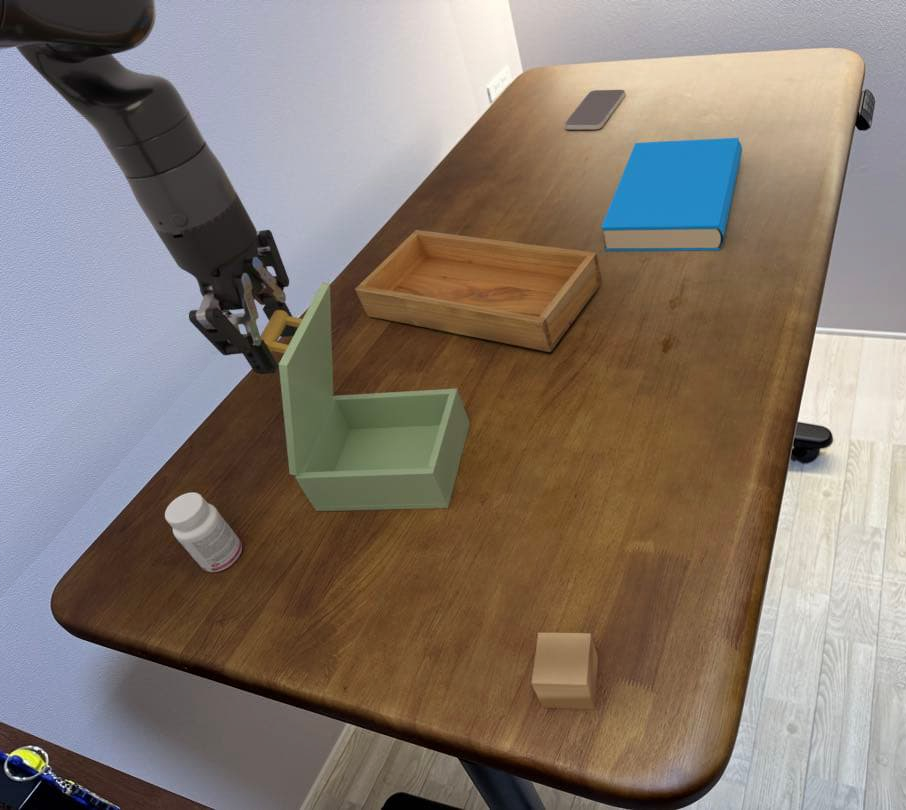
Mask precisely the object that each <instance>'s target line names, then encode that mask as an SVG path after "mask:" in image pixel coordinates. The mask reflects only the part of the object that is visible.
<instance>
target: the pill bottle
mask: <svg viewBox="0 0 906 810" xmlns="http://www.w3.org/2000/svg"><path fill="white" fill-rule="evenodd" d="M164 518H165V521H166V522H167V523H168V524H169V525H170V527H171V528H172V534H173V536H174V538H175V539H176V540H177V541H178V542H179V543H180V545H181V546H182V547H183V548H184V549H185V551H186V552H187V553H188V554H189V555H190V556H191V557H192V559H193V560H194V561H195V563H196V564H197V565H198V566H199V567H200V568H201V569H202V570H204V572H205V571H206V572H209V573H219V572H222V571H225V570H226V569H228V568H230V567H231V566H232V565H234V563H235V562H236V561H237V560H238V559H239V557H240V556H241V554H242V551H243V542H242V540H241V538H239V536H238V535H237V534H236V532H235V530H233V529H232V527H231V526H230V525H229V524H228V522H227V521H226V519H225V518H224V517H223V515H222V514H221V513H220V511H219V510H218V509H217V508H216V507H215V505H213V504H212V503H208V501H207V500H206V499H205V498H204V497H203V496H202V495H201V494H200V493H198V492H193V491H191V492H187V493H183V494H181V495H179V496H177V497H176V498H175V499H173V500H172V501H171V502H170V503H169V504H168V505H167V507H166V509H165V512H164Z"/></svg>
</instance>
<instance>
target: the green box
mask: <svg viewBox="0 0 906 810" xmlns="http://www.w3.org/2000/svg"><path fill="white" fill-rule="evenodd" d="M470 425H471V423H470V420H469V417H468V414H467V412H466V409H465V406H464V404H463V400H462V398H461V395H460V393H459V390H458V388H443V389H442V388H440V389H426V390H410V391H391V392H375V393H358V394H341V395H332V398H331V400H330V402H329V404H328V407H327V409H326V411H325V413H324V416H323V418H322V420H321V422H320V425H319V427H318V429H317V431H316V434H315V436H314V438H313V440H312V443H311V445H310V447H309V449H308V452H307V454H306V456H305V458H304V461H303V463H302V465H301V467H300V470H299V472H298V474H297V476H296V475H295V480H296V482H297V483H298V485H299V486H300V488H301V490H302V491H303V493H304V494H305V497H306V498H307V499H308V501H309V502H310V504H311V506H312V507H313V509H314V510H315V511H316V512H337V511H338V512H339V511H340V512H341V511H346V512H347V511H381V510H386V511H387V510H388V511H389V510H423V509H425V510H426V509H428V510H429V509H449V506H450V502H451V500H452V495H453V491H454V487H455V483H456V479H457V475H458V472H459V467H460V465H461V464H460V463H461V460H462V455H463V451H464V448H465V444H466V441H467V437H468V432H469V429H470Z"/></svg>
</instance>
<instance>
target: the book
mask: <svg viewBox="0 0 906 810" xmlns="http://www.w3.org/2000/svg"><path fill="white" fill-rule="evenodd" d="M742 153H743V146H742V144H741V141H740V138H739V137H724V138H723V137H722V138H707V139H704V138H703V139H686V140H666V141H646V142H645V141H644V142H635V143H634V145H633V148H632V151H631V152H630V155H629V157H628V160H627V163H626V164H625V166H624V167H625V168H624V170H623V173H622V175H621V177H620V180H619V181H618V185H617V186H616V189H615V192H614V195H613V197H612V200H611V202H610V204H609V206H608V210H607V212H606V215H605V217H604V220H603V222H602V225H601V226H600V229H601V231H603V235H604V241H605V246H604V251H605V252H631V251H632V252H642V251H643V252H646V251H647V252H651V251H652V252H653V251H654V252H655V251H661V252H662V251H663V252H664V251H665V252H666V251H667V252H668V251H670V252H673V251H721V247H722V245H723V243H724V238H725V233H726V229H727V225H728V219H729V215H730V210H731V206H732V200H733V195H734V192H735V191H734V190H735V186H736V181H737V178H738V177H737V176H738V172H739V167H740V162H741V159H742Z"/></svg>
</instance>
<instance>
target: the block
mask: <svg viewBox="0 0 906 810" xmlns="http://www.w3.org/2000/svg"><path fill="white" fill-rule="evenodd" d="M593 639H594V638H593V637H592V633H590V632H538V633H537V640H536V646H535V654H534V661H533V669H532V674H531V675H532V676H531V686H532V687H533V691H534V692H535V695H536V698H537V699H538V701H539V704H540V706H541V708H542V709H565V710H567V709H568V710H593V711H594V710H595V709H596V697H597V684H598V672H599V671H598V669H599V657H598V653H597V650H596V646H595V643H594V640H593Z"/></svg>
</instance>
